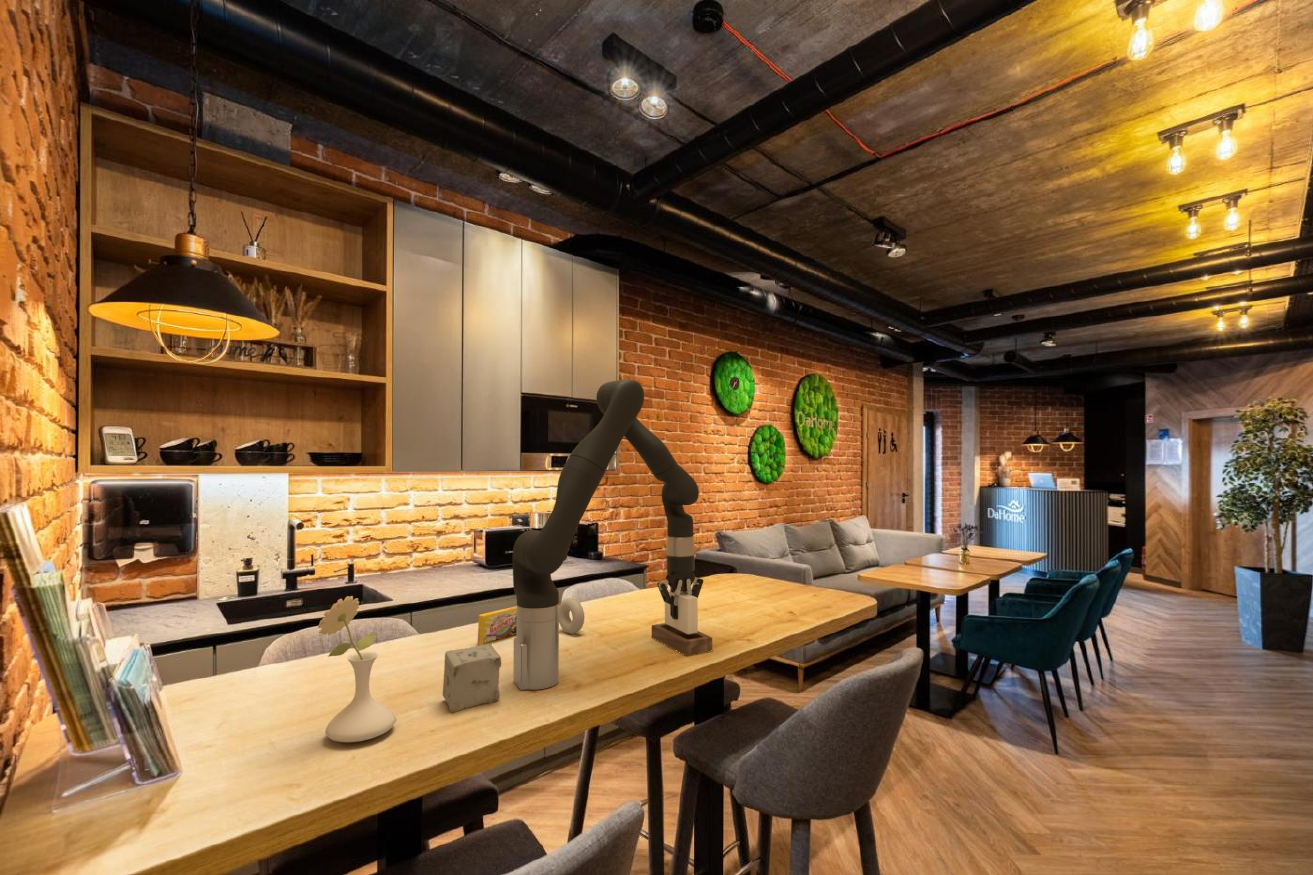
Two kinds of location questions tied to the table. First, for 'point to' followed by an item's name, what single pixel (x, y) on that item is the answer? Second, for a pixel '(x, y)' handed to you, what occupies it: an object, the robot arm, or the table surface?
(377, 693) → the table surface
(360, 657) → the flower in vase
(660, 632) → the brown rectangular tray
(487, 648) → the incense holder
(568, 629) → the donut
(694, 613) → the white rectangular block
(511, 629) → the candy box
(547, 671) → the robot arm
